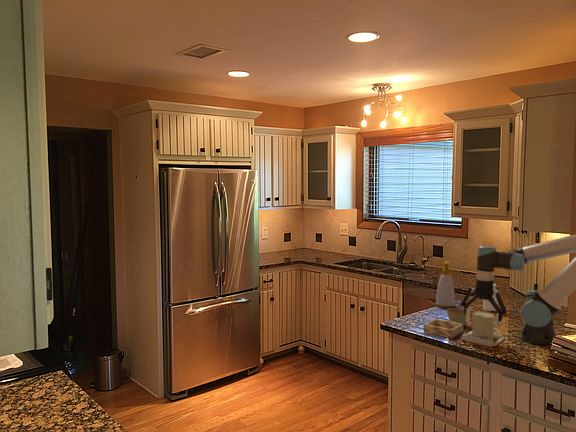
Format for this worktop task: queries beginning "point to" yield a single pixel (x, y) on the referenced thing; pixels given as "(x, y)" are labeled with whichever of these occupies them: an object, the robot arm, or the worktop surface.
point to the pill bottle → (487, 304)
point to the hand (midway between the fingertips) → (482, 324)
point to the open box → (443, 328)
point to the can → (483, 324)
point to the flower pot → (456, 315)
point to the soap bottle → (445, 289)
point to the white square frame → (482, 339)
